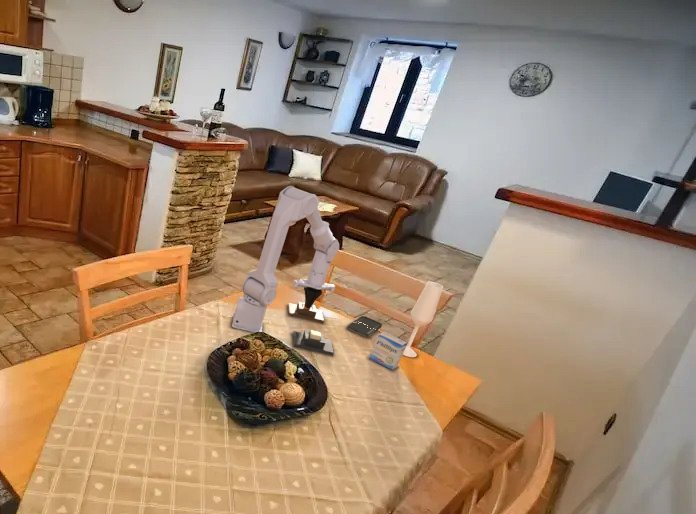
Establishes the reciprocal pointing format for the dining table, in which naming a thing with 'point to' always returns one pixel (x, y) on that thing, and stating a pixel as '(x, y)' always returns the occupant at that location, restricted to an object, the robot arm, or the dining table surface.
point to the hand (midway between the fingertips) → (307, 307)
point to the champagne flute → (424, 311)
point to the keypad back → (305, 312)
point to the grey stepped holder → (312, 343)
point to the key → (315, 335)
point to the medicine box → (388, 350)
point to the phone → (364, 326)
